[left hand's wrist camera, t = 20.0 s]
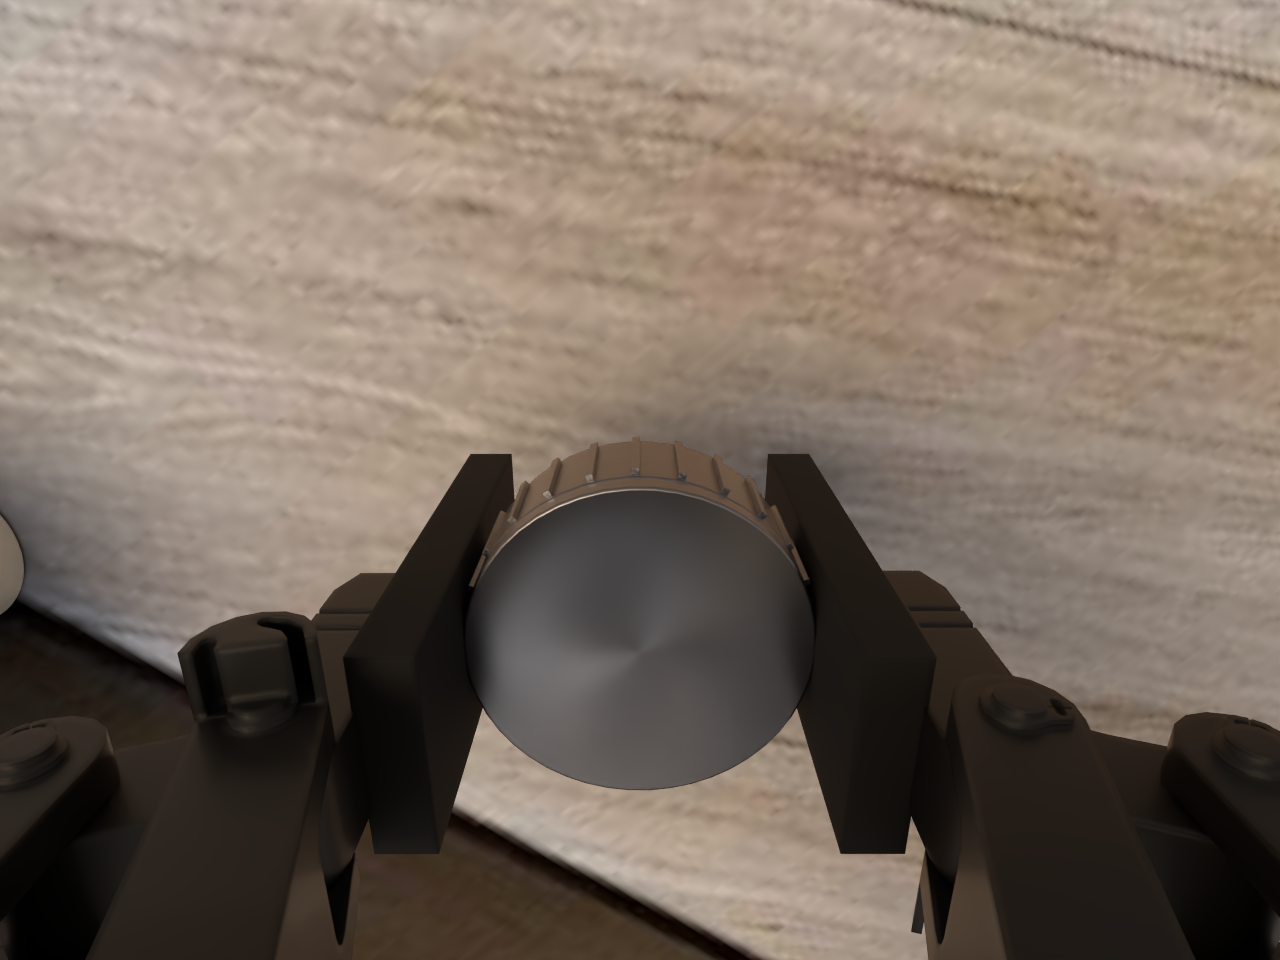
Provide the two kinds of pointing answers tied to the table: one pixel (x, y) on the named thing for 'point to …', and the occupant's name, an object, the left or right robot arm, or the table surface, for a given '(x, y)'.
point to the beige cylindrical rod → (9, 566)
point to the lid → (639, 618)
